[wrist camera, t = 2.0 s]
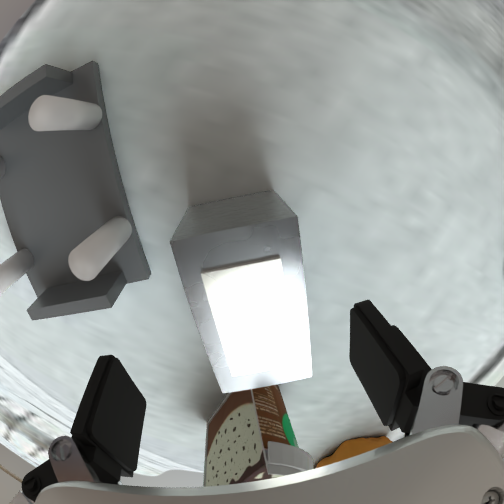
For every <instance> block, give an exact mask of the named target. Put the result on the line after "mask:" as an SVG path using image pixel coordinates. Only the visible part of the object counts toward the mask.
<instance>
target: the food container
mask: <svg viewBox="0 0 504 504" xmlns="http://www.w3.org/2000/svg"><path fill="white" fill-rule="evenodd" d="M312 469H313V459H312V457H311V456H310V455H309V453H307V452H305V451H304V450H302V449H300V448H299V447H298V444H297V441H296V438H295V435H294V432H293V429H292V426H291V423H290V420H289V417H288V414H287V411H286V408H285V405H284V402H283V399H282V396H281V393H280V390H279V387H278V385H271V386H266V387H260V388H255V389H249V390H242V391H236V392H229V393H228V394H227V396H226V397H225V399H224V400H223V401H222V403H221V404H220V406H219V407H218V408H217V410H216V411H215V412H214V414H213V415H212V416H211V418H210V419H209V421H208V422H207V430H206V446H205V464H204V484H203V487H207V486H220V485H230V484H239V483H247V482H254V481H260V480H266V479H271V478H277V477H282V476H286V475H291V474H296V473H300V472H304V471H308V470H312Z"/></svg>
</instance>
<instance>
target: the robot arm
mask: <svg viewBox="0 0 504 504" xmlns="http://www.w3.org/2000/svg"><path fill="white" fill-rule="evenodd" d="M350 362H351V365H352V367H353V369H354V370H355V372H356V374H357V376H358V378H359V380H360V381H361V383H362V385H363V387H364V389H365V391H366V393H367V395H368V396H369V398H370V400H371V402H372V404H373V406H374V408H375V410H376V412H377V414H378V415H379V417H380V419H381V421H382V423H383V425H384V426H389V428H390V429H391V431H393V430H395V429H397V428H399V427H400V429H401V431H402V432H404V436H403V438H402V439H399V440H397V441H394V442H392V443H389V444H386V445H384V446H381V447H379V448H376V449H374V450H371V451H368V452H366V453H363V454H360V455H357V456H354V457H351V458H348V459H345V460H342V461H339V462H336V463H333V464H329V465H326V466H323V467H319V468H315V469H312V470H308V471H304V472H300V473H296V474H291V475H286V476H282V477H277V478H271V479H266V480H260V481H254V482H247V483H239V484H230V485H220V486H207V487H180V488H165V487H164V488H163V487H141V486H140V487H139V486H127V485H123V484H122V482H121V481H120V476H125V477H133V472H134V471H135V470H136V469H137V462H138V455H139V448H140V441H141V435H142V428H143V422H144V416H145V411H146V400H145V398H144V397H143V395H142V394H141V392H140V391H139V390H138V388H137V387H136V385H135V384H134V382H133V381H132V379H131V378H130V376H129V375H128V373H127V372H126V370H125V368H124V367H123V365H122V364H121V362H120V360H119V359H118V358H115V357H114V356H113V355H105V356H100V357H99V358H98V360H97V362H96V365H95V367H94V370H93V372H92V375H91V377H90V380H89V382H88V385H87V387H86V390H85V392H84V395H83V398H82V400H81V403H80V406H79V408H78V411H77V414H76V417H75V420H74V423H73V426H72V429H71V432H70V433H71V434H72V438H70V437H68V436H61V437H58V438H56V439H55V440H54V441H53V442H52V443H51V445H50V447H49V451H48V455H49V460H47V461H46V462H44V463H43V464H41V465H40V466H38V467H37V468H35V469H34V470H32V471H31V472H29V473H28V474H27V475H26V476H25V477H24V479H23V481H22V490H23V492H21V491H19V492H18V493H17V494H16V496H15V497H14V498H13V499H12V501H11V502H10V503H9V504H504V388H501V387H494V386H486V385H479V384H472V383H466V382H463V379H462V377H461V374H460V373H459V372H458V371H457V370H455V369H453V368H452V367H447V366H440V367H436V368H434V369H431V368H430V367H429V365H428V364H427V363H426V362H425V360H424V359H423V358H422V357H421V355H420V354H419V353H418V352H417V350H416V349H415V348H414V347H413V345H412V344H411V343H410V342H409V341H408V339H407V338H406V337H405V336H404V334H403V333H402V332H401V331H400V330H399V328H397V327H396V326H394V325H393V326H391V325H390V324H389V323H388V322H387V320H386V319H385V318H384V317H383V315H382V314H381V313H380V312H379V311H378V310H377V308H376V307H375V306H374V305H373V304H372V302H371V301H370V300H365V301H362V302H359V303H356V304H354V308H352V309H351V310H350Z"/></svg>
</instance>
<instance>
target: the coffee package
mask: <svg viewBox="0 0 504 504" xmlns="http://www.w3.org/2000/svg"><path fill="white" fill-rule="evenodd" d="M389 443H392V441H390V440H389V439H388V438H387V437H386V436H381V437H379V438H373V437H370V438H366V439H365V438H357V439H351V440H347V441H344V442H343V443H342V444H341V445H340V446H339V447H338V448H337V450H336V451H335V453H334V454H333V455H331V456H329V457H326V458H324V459H322V460H321V461H320V462H319V463H318V464H317V466H316V468H319V467H323V466H326V465H329V464H333V463H336V462H339V461H342V460H345V459H348V458H351V457H354V456H357V455H360V454H363V453H366V452H368V451H371V450H374V449H376V448H379V447H381V446H384V445H386V444H389Z"/></svg>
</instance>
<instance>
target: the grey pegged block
mask: <svg viewBox="0 0 504 504" xmlns="http://www.w3.org/2000/svg"><path fill="white" fill-rule="evenodd" d="M0 199H1V203H2V207H3V210H4V213H5V217H6V220H7V223H8V226H9V229H10V232H11V235H12V238H13V241H14V243H15V246H16V249H17V251H18V252H17V253H15V254H14V255H13V256H11V257H10V258H9V259H7V260H6V261H4V262H3V263H2V264H0V296H1V295H2V294H3V293H4V292H5V291H6V290H7V289H8V288H9V287H11V286H12V285H13V284H14V283H15V282H16V281H17V280H18V279H20V278H21V277H22V276H23V275H24V274H25V273H27V276H28V278H29V280H30V282H31V285H32V287H33V289H34V291H35V293H36V295H37V297H38V298H37V299H36V301H35V302H34V303H33V304H32V305H31V306H30V307H29V308H28V309H27V312H28V314H29V315H30V317H31V319H32V320H38V319H45V318H51V317H58V316H64V315H70V314H76V313H83V312H89V311H95V310H100V309H106V308H112V306H113V304H114V303H115V301H116V299H117V298H118V296H119V294H120V293H121V291H122V290H123V288H124V286H125V285H126V284H127V283H132V282H137V281H141V280H146V279H149V277H150V275H151V271H150V269H149V266H148V263H147V260H146V258H145V255H144V252H143V249H142V246H141V243H140V240H139V237H138V234H137V231H136V228H135V225H134V222H133V218H132V215H131V212H130V209H129V205H128V202H127V198H126V195H125V191H124V188H123V184H122V180H121V177H120V173H119V169H118V165H117V161H116V157H115V153H114V149H113V144H112V140H111V135H110V131H109V126H108V121H107V116H106V111H105V105H104V100H103V94H102V88H101V81H100V75H99V67H98V63H96V62H94V61H91V62H89V63H87V64H85V65H83V66H81V67H79V68H77V69H75V70H73V71H71V72H69V71H66V70H63V69H60V68H56V67H53V66H50V65H47V64H45V65H43V66H42V67H40V68H39V69H37V70H35V71H34V72H32V73H31V74H29V75H28V76H27V77H25V78H24V79H22V80H21V81H19V82H18V83H17V84H15V85H14V86H13V87H11V88H10V89H9V90H7V91H6V92H5V93H4V94H2V95H1V96H0Z"/></svg>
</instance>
